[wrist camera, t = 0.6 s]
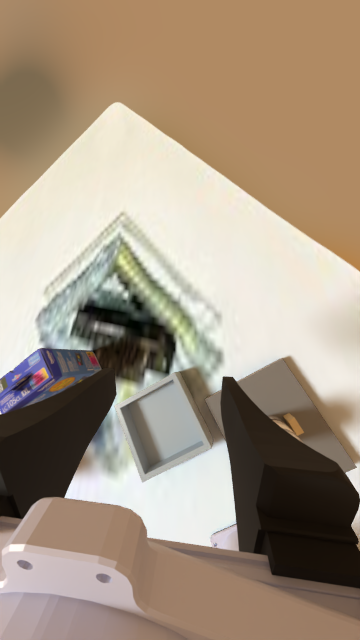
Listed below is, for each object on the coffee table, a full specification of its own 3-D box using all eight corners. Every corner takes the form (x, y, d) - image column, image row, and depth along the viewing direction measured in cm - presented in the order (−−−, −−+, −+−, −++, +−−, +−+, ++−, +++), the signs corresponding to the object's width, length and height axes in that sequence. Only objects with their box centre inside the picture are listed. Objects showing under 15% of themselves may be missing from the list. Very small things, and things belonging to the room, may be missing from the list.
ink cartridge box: (67, 401, 39) (-20, 422, 25) (57, 377, 41) (-30, 385, 27) (104, 372, 38) (36, 378, 25) (93, 349, 40) (23, 343, 26)
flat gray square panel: (349, 461, 27) (370, 478, 23) (259, 502, 28) (264, 524, 24) (279, 358, 32) (287, 358, 28) (205, 398, 33) (202, 402, 29)
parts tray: (213, 439, 31) (211, 448, 28) (151, 470, 33) (142, 482, 29) (179, 371, 35) (174, 372, 32) (124, 401, 36) (114, 405, 33)
